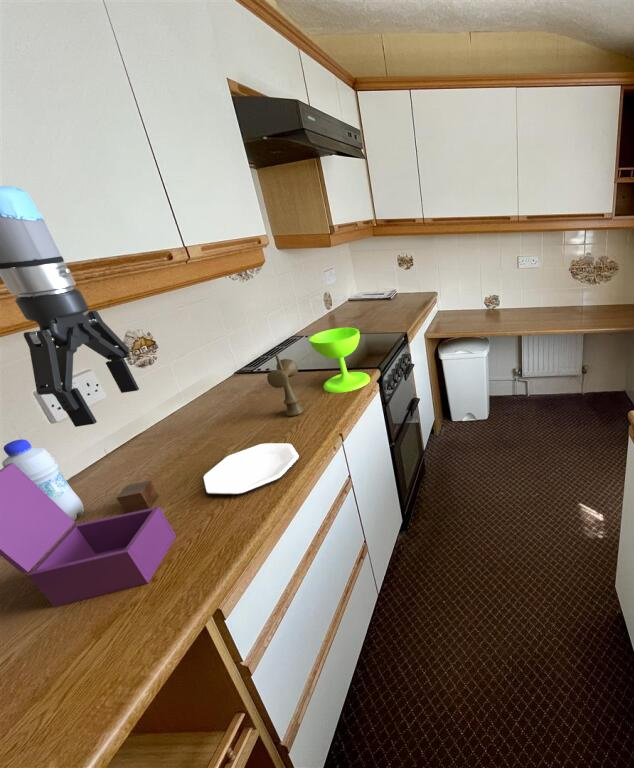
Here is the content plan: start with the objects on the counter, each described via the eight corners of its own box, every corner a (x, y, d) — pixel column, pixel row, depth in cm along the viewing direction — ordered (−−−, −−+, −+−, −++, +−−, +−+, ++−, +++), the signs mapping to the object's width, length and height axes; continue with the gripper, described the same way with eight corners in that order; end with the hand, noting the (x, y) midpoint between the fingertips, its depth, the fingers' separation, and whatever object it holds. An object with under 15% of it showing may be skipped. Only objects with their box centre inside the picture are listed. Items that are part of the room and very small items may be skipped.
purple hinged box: (176, 536, 82) (159, 506, 78) (148, 583, 72) (127, 551, 68) (95, 554, 79) (74, 524, 75) (54, 607, 68) (27, 575, 65)
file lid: (13, 462, 68) (7, 464, 68) (-50, 508, 58) (-57, 510, 58) (75, 521, 75) (70, 523, 75) (28, 572, 65) (23, 574, 65)
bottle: (38, 527, 87) (-21, 449, 78) (76, 505, 92) (25, 430, 84) (58, 532, 85) (0, 453, 76) (96, 510, 90) (46, 434, 82)
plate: (202, 470, 102) (200, 465, 101) (287, 439, 113) (285, 434, 112) (212, 511, 88) (209, 505, 87) (307, 471, 99) (305, 466, 98)
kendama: (310, 404, 131) (292, 346, 123) (301, 419, 123) (281, 358, 114) (290, 407, 130) (271, 349, 122) (280, 422, 122) (258, 360, 113)
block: (149, 508, 90) (140, 492, 88) (125, 513, 89) (115, 497, 87) (159, 495, 94) (150, 480, 92) (136, 500, 93) (127, 484, 91)
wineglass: (355, 393, 137) (343, 343, 129) (313, 392, 140) (298, 343, 132) (378, 373, 151) (367, 327, 143) (339, 373, 154) (327, 327, 146)
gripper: (13, 307, 56) (91, 437, 65) (118, 276, 78) (165, 377, 87) (-56, 314, 54) (34, 446, 63) (71, 280, 76) (124, 382, 85)
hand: (110, 406), depth 75 cm, fingers open, 13 cm apart
